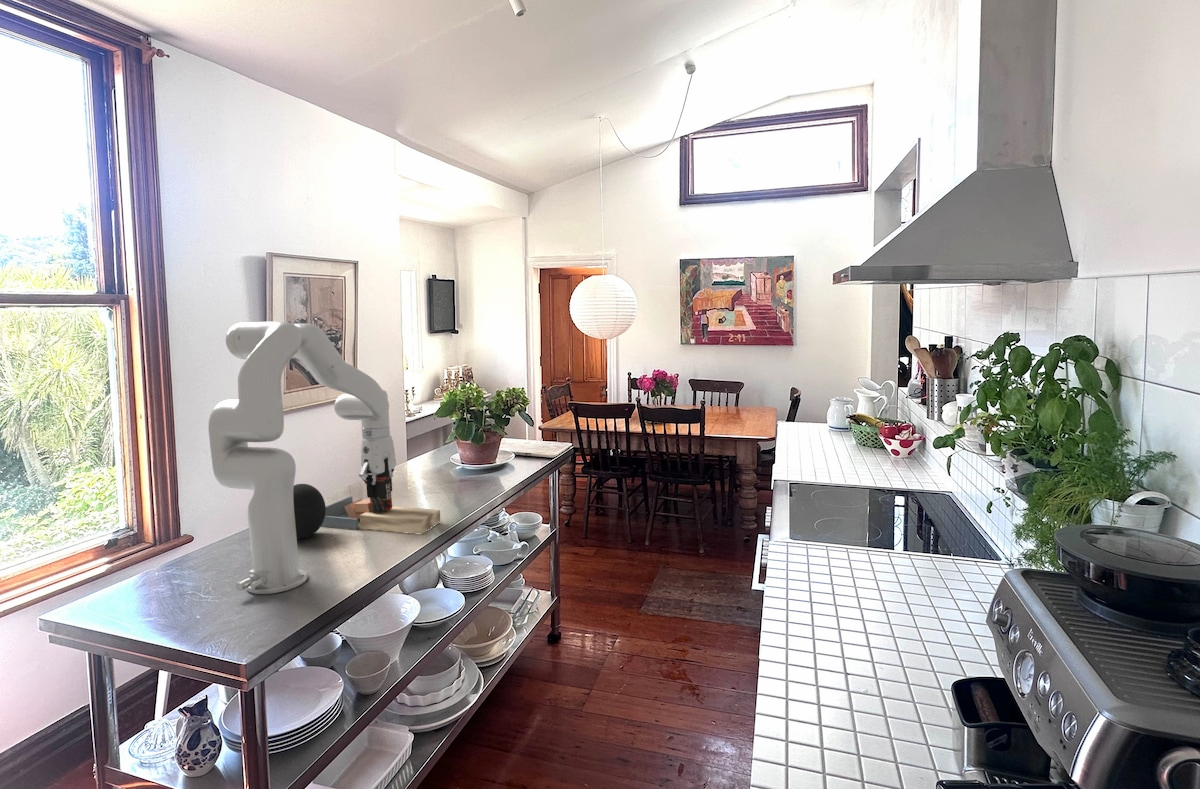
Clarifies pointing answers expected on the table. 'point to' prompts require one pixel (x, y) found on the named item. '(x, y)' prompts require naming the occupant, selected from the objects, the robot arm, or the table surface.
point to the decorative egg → (308, 510)
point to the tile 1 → (353, 510)
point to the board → (400, 519)
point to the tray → (340, 515)
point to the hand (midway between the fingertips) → (379, 493)
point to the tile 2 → (363, 506)
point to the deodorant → (382, 491)
